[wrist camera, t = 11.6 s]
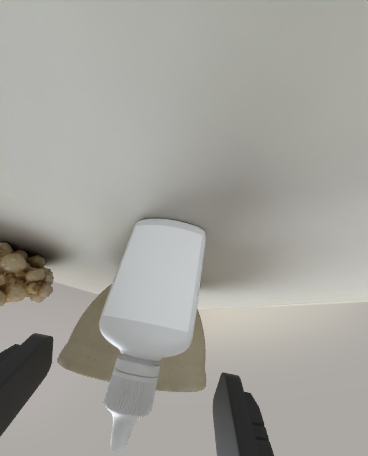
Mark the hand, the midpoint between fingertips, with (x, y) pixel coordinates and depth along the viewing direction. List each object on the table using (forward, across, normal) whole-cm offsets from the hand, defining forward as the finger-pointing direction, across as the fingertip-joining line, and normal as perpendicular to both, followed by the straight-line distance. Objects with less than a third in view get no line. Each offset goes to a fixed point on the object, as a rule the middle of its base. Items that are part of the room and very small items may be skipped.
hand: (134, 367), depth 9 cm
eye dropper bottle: (+8, 0, -5) cm, 9 cm away
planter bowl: (+18, +1, +5) cm, 18 cm away
